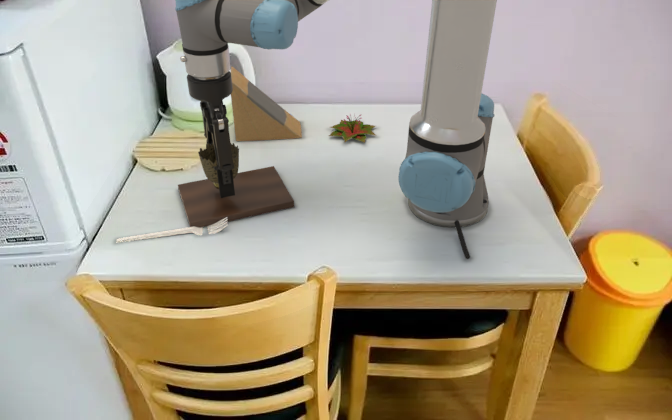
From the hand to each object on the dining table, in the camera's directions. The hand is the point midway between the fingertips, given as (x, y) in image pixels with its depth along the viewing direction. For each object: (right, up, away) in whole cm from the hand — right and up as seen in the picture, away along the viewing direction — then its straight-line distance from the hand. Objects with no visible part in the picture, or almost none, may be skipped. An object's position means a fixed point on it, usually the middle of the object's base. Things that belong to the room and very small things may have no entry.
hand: (223, 184), depth 115 cm
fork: (-8, -10, -6) cm, 14 cm away
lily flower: (+26, +13, +25) cm, 38 cm away
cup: (0, 0, 0) cm, 0 cm away
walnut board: (+2, -3, +3) cm, 4 cm away
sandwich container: (+6, +14, +26) cm, 30 cm away
